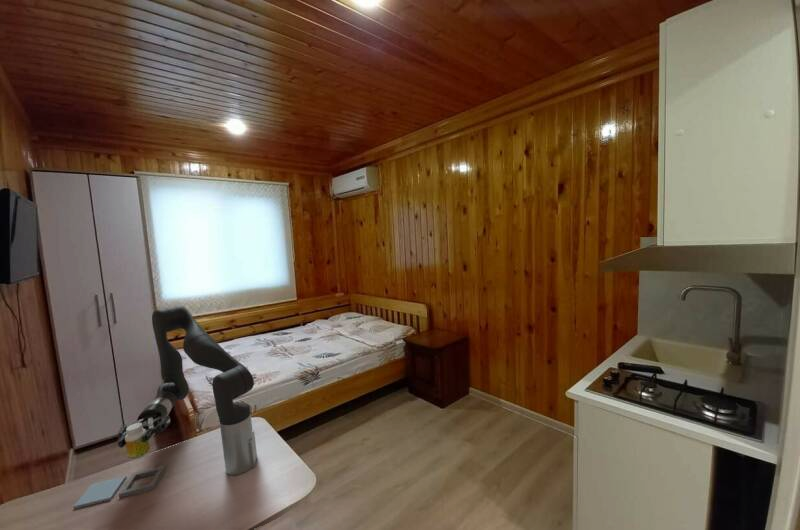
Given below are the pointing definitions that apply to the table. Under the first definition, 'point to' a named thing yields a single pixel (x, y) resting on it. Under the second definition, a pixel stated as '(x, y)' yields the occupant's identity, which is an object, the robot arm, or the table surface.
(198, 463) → the table surface
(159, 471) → the collar
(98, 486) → the board
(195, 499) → the table surface
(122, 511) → the table surface
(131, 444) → the supplement bottle
